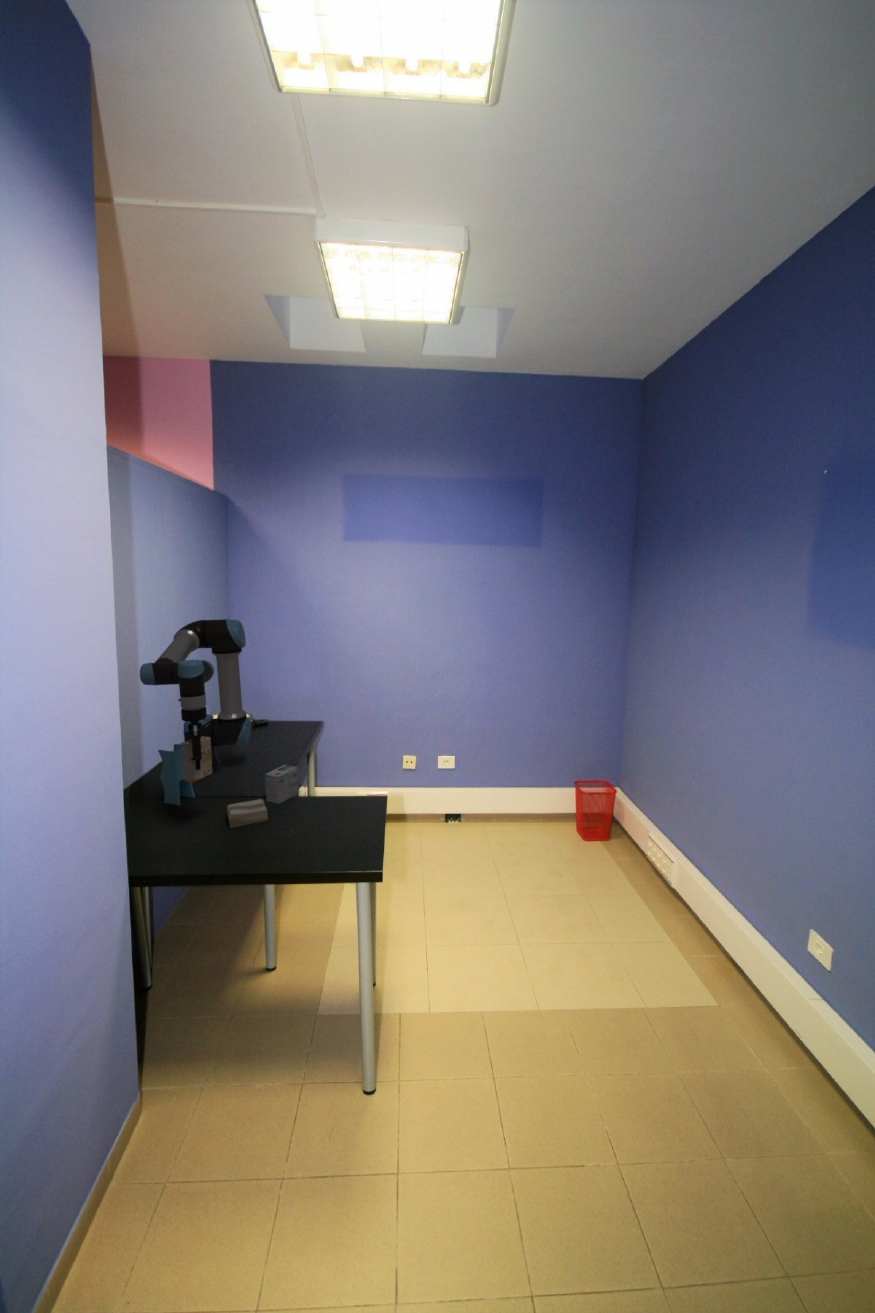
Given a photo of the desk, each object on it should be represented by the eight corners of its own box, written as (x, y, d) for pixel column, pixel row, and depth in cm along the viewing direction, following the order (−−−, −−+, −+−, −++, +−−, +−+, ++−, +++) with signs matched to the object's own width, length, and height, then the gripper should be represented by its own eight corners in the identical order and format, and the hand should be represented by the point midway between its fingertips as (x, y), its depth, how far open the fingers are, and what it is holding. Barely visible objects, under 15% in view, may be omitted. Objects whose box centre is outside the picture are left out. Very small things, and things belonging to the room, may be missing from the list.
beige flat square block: (227, 815, 181) (226, 804, 180) (263, 808, 186) (262, 798, 186) (230, 827, 172) (229, 816, 172) (267, 820, 178) (267, 809, 177)
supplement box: (194, 783, 169) (191, 744, 167) (183, 780, 171) (180, 742, 169) (213, 774, 177) (211, 736, 175) (202, 772, 179) (200, 735, 176)
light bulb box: (285, 790, 202) (284, 764, 201) (299, 793, 199) (298, 766, 198) (265, 801, 193) (264, 773, 191) (279, 804, 190) (278, 776, 188)
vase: (179, 794, 199) (175, 743, 196) (195, 796, 196) (191, 746, 193) (162, 802, 192) (157, 750, 188) (178, 805, 189) (174, 752, 186)
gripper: (180, 701, 178) (185, 764, 182) (180, 716, 159) (186, 786, 163) (204, 699, 181) (209, 761, 185) (207, 714, 162) (212, 782, 166)
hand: (198, 773), depth 174 cm, fingers closed on supplement box, 9 cm apart
